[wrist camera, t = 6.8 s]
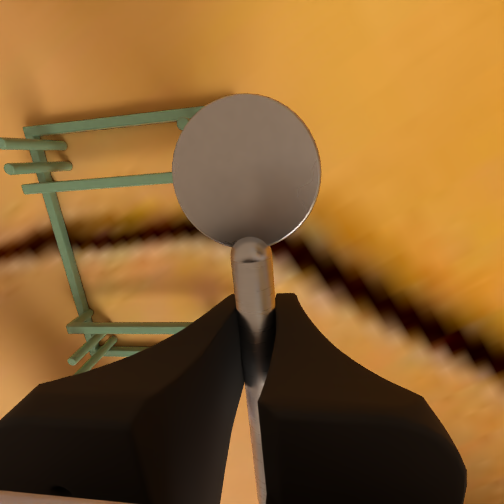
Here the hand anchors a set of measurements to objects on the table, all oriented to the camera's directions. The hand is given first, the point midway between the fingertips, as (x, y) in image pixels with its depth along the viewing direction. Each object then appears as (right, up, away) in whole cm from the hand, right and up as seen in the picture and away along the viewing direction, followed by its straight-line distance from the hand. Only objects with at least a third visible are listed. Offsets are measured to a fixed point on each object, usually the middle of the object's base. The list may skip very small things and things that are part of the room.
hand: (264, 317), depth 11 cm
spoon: (0, 0, -1) cm, 1 cm away
